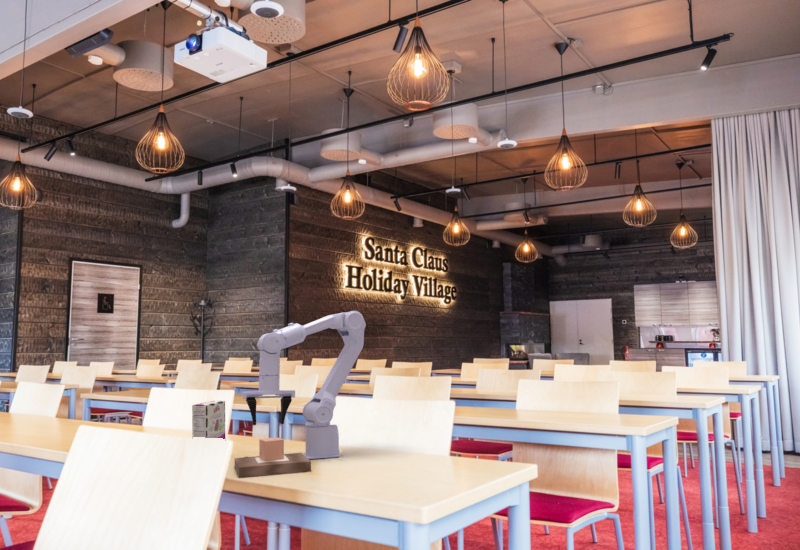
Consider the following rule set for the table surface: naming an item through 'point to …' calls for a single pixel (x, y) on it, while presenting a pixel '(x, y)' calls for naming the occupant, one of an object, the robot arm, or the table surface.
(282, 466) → the walnut plinth
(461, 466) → the table surface
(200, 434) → the candy bar box
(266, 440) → the terracotta cube
